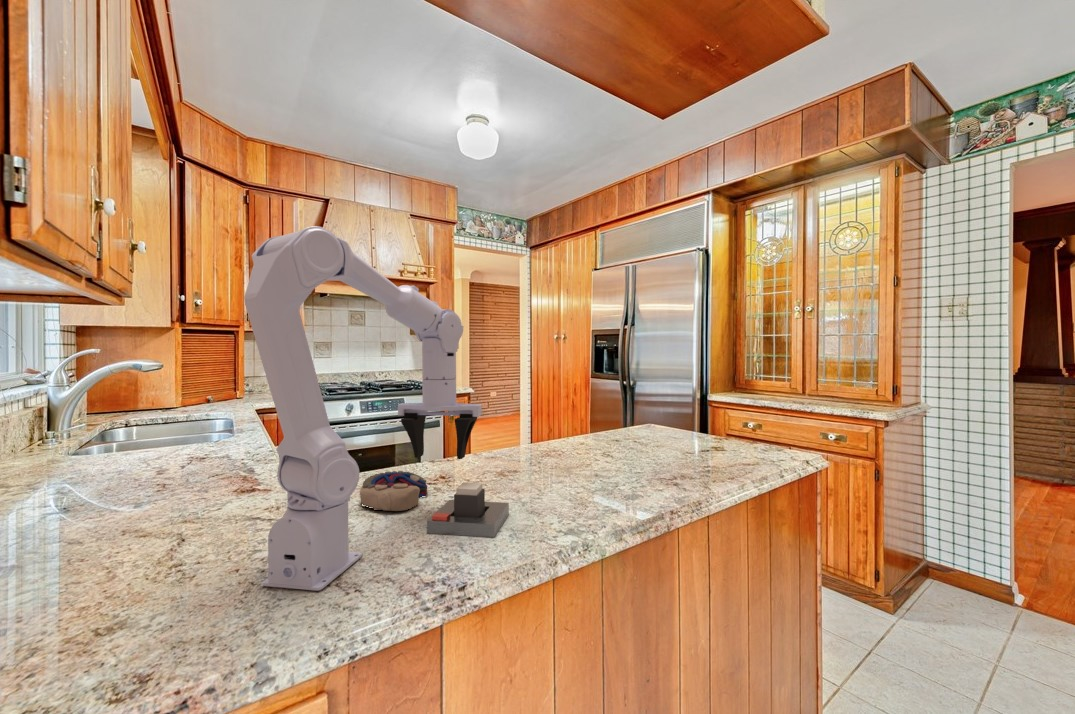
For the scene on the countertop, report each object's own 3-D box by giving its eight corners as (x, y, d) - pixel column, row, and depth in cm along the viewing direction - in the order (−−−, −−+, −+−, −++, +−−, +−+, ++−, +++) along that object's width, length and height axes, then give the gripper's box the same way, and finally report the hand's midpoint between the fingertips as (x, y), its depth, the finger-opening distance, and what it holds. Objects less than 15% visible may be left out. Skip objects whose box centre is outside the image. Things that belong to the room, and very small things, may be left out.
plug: (477, 527, 72) (477, 490, 72) (454, 525, 73) (454, 488, 73) (484, 517, 76) (484, 482, 76) (462, 516, 77) (462, 481, 77)
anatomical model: (431, 487, 95) (431, 466, 95) (417, 515, 79) (416, 489, 79) (373, 489, 94) (373, 467, 94) (347, 517, 78) (346, 491, 78)
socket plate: (494, 537, 69) (494, 520, 69) (426, 533, 70) (426, 516, 70) (508, 514, 78) (508, 499, 78) (449, 510, 80) (449, 496, 80)
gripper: (486, 377, 80) (486, 453, 80) (410, 377, 82) (410, 450, 82) (474, 380, 73) (474, 462, 73) (391, 379, 75) (392, 459, 75)
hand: (439, 457), depth 77 cm, fingers open, 7 cm apart
